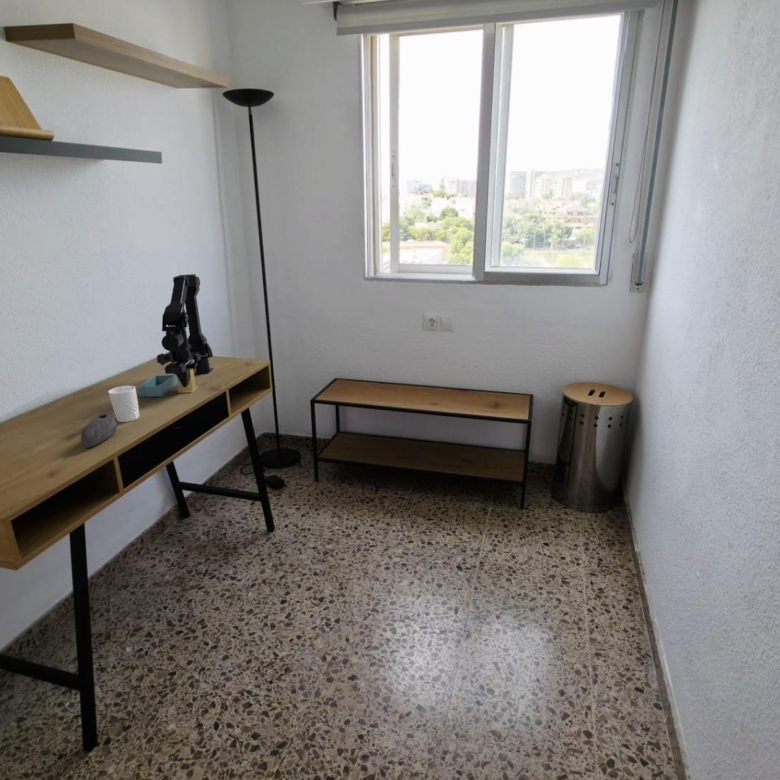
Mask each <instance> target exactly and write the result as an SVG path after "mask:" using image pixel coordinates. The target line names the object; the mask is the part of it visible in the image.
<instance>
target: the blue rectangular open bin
mask: <svg viewBox="0 0 780 780" xmlns="http://www.w3.org/2000/svg"><path fill="white" fill-rule="evenodd" d="M177 386H179V383H178V377H177V375H175V374H160V375H158V374H155V375H153V376H152V377H151V378H149V379H147V380H146V381H145V382H143V383H142V384H140V385H139V386H137V392H138V396H139V398H140V399H143V398H147V399H148V398H163V397H164V396H165V395H166V394H168V393H169V392H170V391H172V390H173V389H174V388H176V387H177Z"/></svg>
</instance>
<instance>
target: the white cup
mask: <svg viewBox="0 0 780 780" xmlns="http://www.w3.org/2000/svg"><path fill="white" fill-rule="evenodd" d="M107 393H108V396H109V399H110V404H111V406H112V409H113V414H114V416H115V418H116V419H115V420H116V422H119V423H128V422H132V421H135V420H137V419H139V418H140V410H139V408H140V407H139V399H138V395H137V394H138V393H137V388H136V386H134V385H121V386H116V387H113V388H111V389H109V390H108V392H107Z"/></svg>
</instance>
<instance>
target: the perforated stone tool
mask: <svg viewBox="0 0 780 780" xmlns="http://www.w3.org/2000/svg"><path fill="white" fill-rule="evenodd" d="M115 418H116V417H115V413H114V411H110V410H107V411H104V412H103V413H101V414H99V415H98V416H97V415H96V417H94V418H93V419H92V420H91V421H89V423H88V424H87V425H85V427H84V429H83V430H82V432H81V435H80V441H81V444H82V446H83V447H84V448H92V447H95V446H98V445H99V444H100V443H101V444H102V442H105V441H106V440H108V439H109V438H111V436H112V435H114V433H116V432H117V427H118V423H117V420H116V419H115ZM104 440H105V441H104Z"/></svg>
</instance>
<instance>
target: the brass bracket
mask: <svg viewBox="0 0 780 780" xmlns="http://www.w3.org/2000/svg"><path fill="white" fill-rule="evenodd" d="M187 369H189V374H188V381H187V386H186V387H183V385H182V384H181V382H180V380H179V378H178V377H177V381H178V390H177V392H178V394H184V393H185V394H186V393H188V394H190V393H191V394H192V393H193V392H195V390H197V389H198V388H199V385H198V384H196V378H195V374H194V372H193V368H187Z"/></svg>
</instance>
